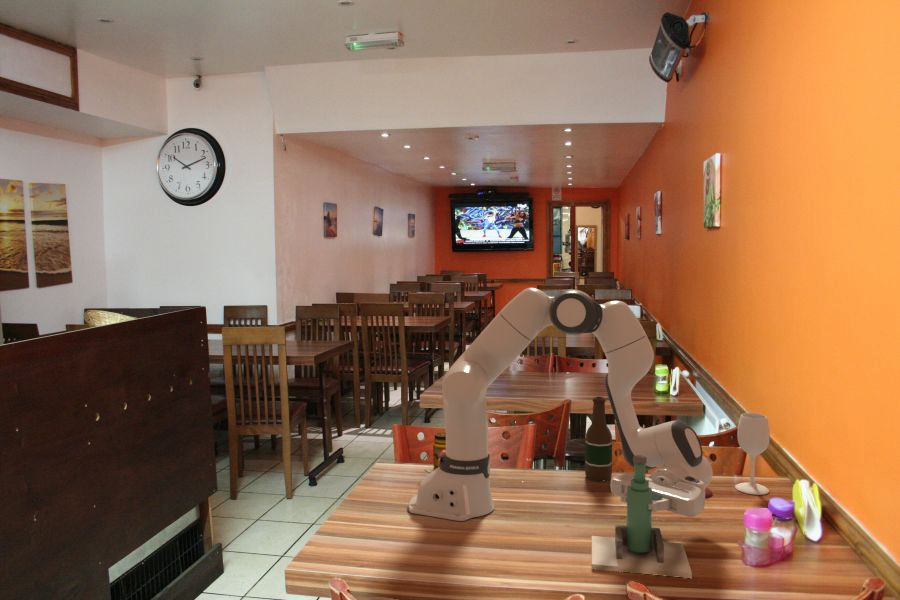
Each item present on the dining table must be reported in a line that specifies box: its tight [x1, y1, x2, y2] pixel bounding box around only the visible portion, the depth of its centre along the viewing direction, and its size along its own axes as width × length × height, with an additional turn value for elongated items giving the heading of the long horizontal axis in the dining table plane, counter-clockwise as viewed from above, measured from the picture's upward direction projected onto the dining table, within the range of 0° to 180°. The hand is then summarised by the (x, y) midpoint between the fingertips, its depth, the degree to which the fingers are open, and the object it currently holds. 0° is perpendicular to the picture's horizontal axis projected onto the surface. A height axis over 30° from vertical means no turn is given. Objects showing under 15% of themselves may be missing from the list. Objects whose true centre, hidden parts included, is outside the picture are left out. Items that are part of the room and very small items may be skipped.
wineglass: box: [734, 412, 771, 496], centre depth 182 cm, size 9×9×21 cm
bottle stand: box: [591, 524, 693, 580], centre depth 142 cm, size 20×14×5 cm
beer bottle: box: [584, 396, 613, 482], centre depth 192 cm, size 8×8×24 cm
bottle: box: [626, 455, 653, 553], centre depth 141 cm, size 5×5×20 cm
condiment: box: [424, 432, 446, 474], centre depth 199 cm, size 7×8×12 cm
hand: (637, 503), depth 140 cm, fingers closed on bottle, 5 cm apart
